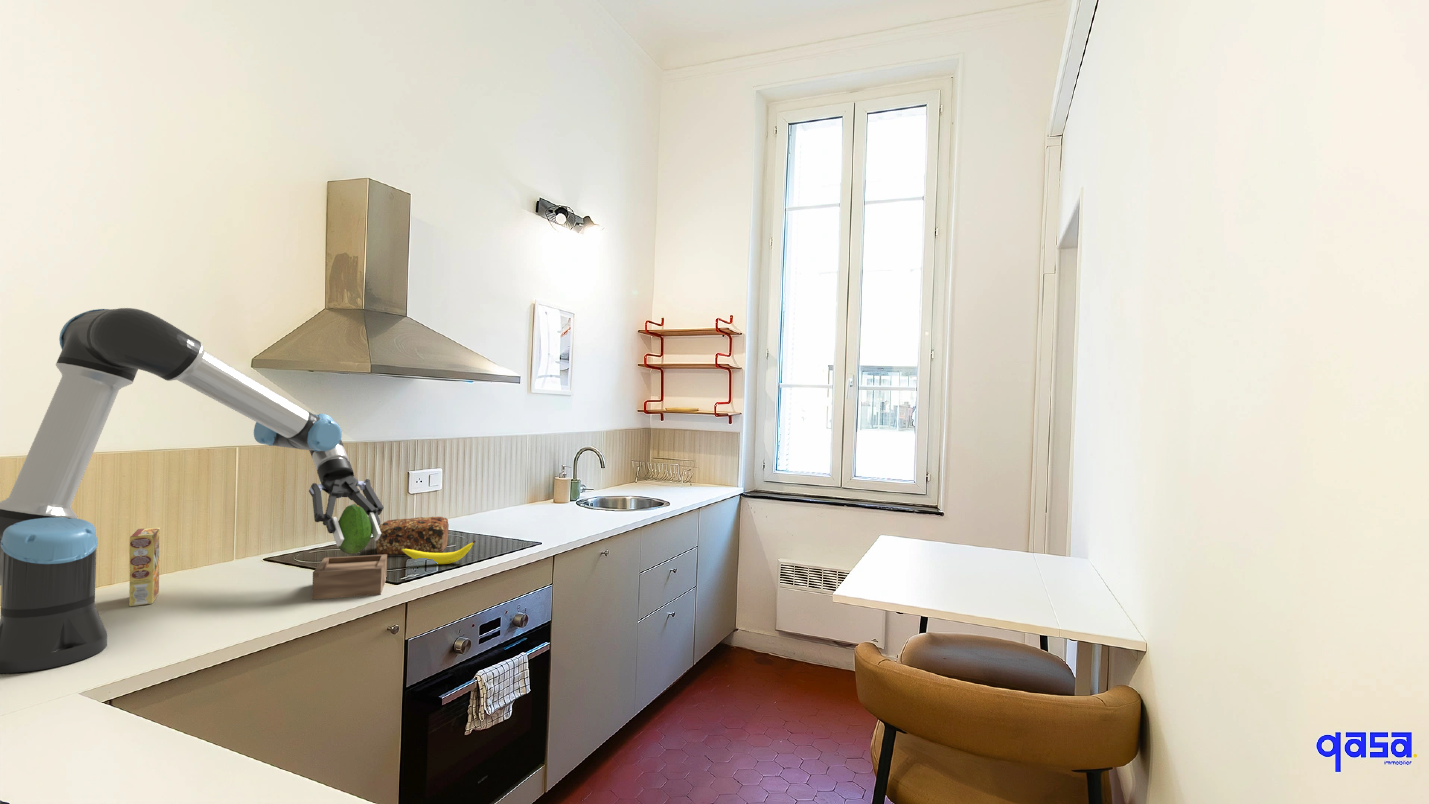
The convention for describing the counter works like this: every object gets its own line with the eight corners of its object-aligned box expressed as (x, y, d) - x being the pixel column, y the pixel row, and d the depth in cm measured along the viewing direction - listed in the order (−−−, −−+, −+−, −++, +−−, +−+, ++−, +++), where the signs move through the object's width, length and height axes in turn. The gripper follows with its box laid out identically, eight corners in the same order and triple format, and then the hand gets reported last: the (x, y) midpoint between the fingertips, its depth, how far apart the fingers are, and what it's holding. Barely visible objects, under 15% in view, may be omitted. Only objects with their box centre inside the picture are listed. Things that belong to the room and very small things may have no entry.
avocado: (346, 559, 153) (347, 508, 153) (327, 554, 157) (328, 504, 157) (378, 552, 160) (379, 503, 160) (359, 547, 164) (360, 499, 164)
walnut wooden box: (380, 594, 155) (381, 568, 155) (312, 599, 150) (312, 572, 150) (386, 578, 168) (387, 554, 168) (323, 582, 163) (324, 557, 163)
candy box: (153, 604, 143) (154, 534, 143) (127, 607, 141) (129, 536, 141) (159, 593, 151) (161, 526, 150) (135, 596, 148) (136, 528, 148)
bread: (448, 546, 205) (449, 514, 205) (442, 554, 194) (443, 521, 194) (384, 547, 201) (385, 514, 200) (374, 556, 190) (374, 521, 190)
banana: (401, 565, 180) (402, 542, 180) (474, 561, 187) (475, 539, 187) (400, 568, 178) (401, 545, 178) (475, 564, 184) (475, 541, 184)
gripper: (370, 472, 176) (397, 542, 166) (282, 478, 160) (307, 556, 150) (380, 454, 173) (408, 524, 163) (291, 459, 157) (316, 537, 147)
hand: (359, 539), depth 157 cm, fingers closed on avocado, 8 cm apart
